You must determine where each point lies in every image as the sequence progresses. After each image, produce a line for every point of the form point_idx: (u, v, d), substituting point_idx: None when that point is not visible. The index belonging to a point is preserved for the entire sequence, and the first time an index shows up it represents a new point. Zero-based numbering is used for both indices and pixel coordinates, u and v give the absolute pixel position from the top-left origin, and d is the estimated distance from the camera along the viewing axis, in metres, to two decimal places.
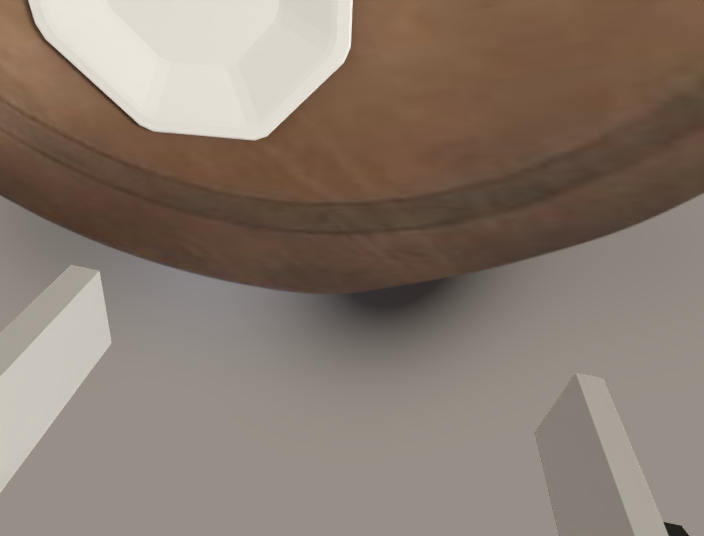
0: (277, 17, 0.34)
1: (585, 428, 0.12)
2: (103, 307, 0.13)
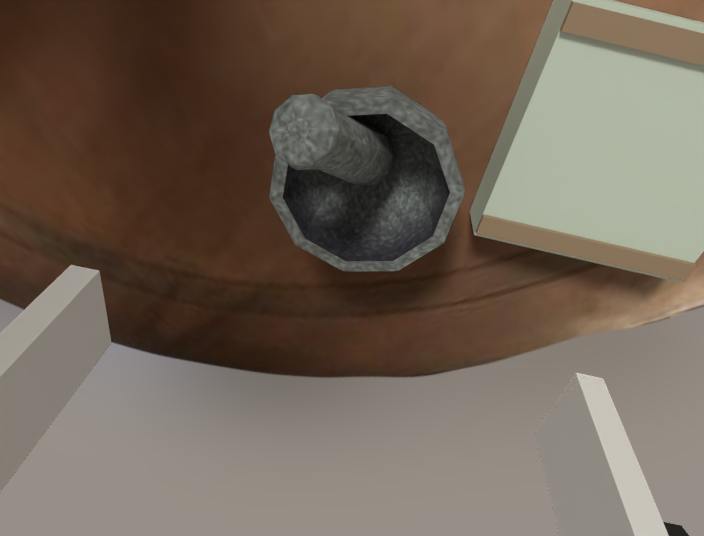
0: None
1: (585, 428, 0.12)
2: (103, 307, 0.13)
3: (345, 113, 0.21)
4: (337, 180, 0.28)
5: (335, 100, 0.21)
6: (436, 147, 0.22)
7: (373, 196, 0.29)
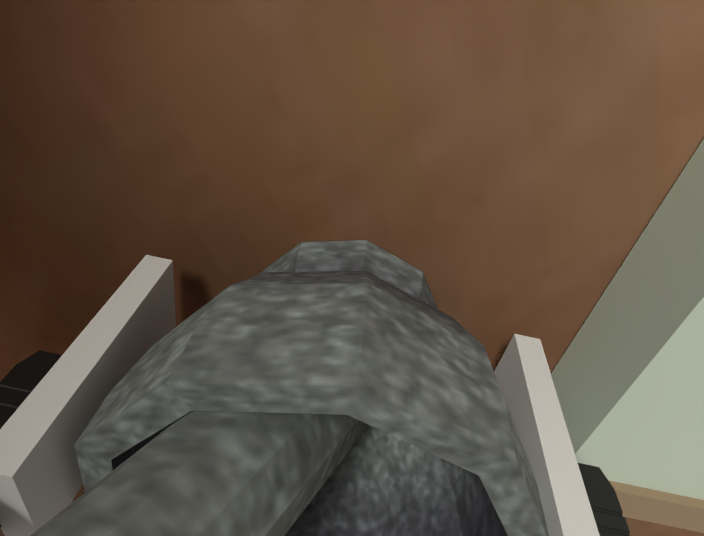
0: None
1: (518, 382, 0.12)
2: (172, 295, 0.14)
3: (232, 407, 0.08)
4: None
5: (199, 377, 0.08)
6: (485, 480, 0.08)
7: None
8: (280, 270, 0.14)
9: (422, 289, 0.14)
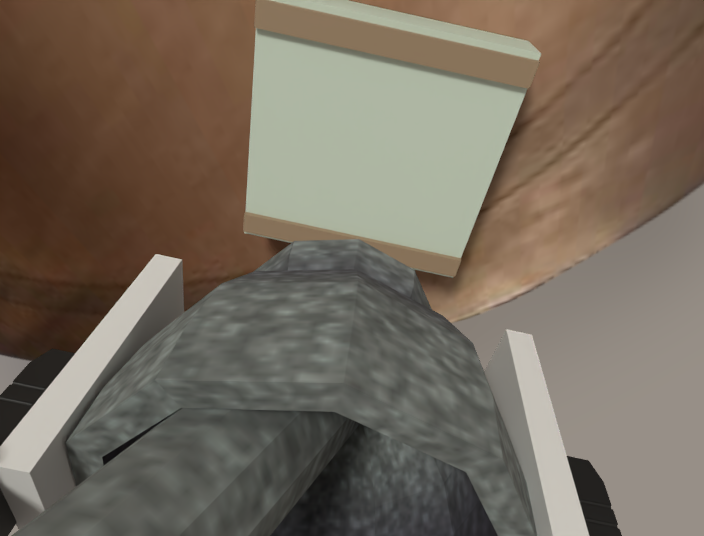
0: None
1: (509, 377, 0.13)
2: (181, 294, 0.14)
3: (221, 405, 0.08)
4: None
5: (188, 374, 0.08)
6: (472, 476, 0.08)
7: None
8: (273, 269, 0.14)
9: (414, 288, 0.14)
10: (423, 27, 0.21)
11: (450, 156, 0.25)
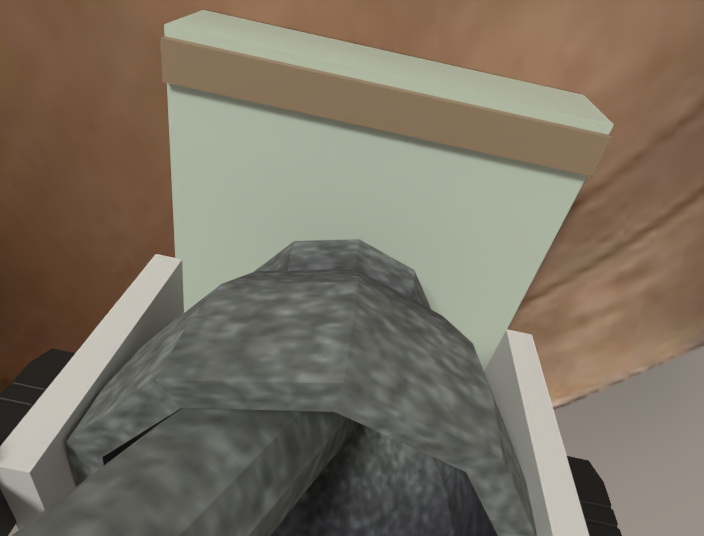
0: None
1: (509, 377, 0.13)
2: (181, 294, 0.14)
3: (221, 405, 0.08)
4: None
5: (188, 374, 0.08)
6: (472, 476, 0.08)
7: None
8: (273, 269, 0.14)
9: (414, 288, 0.14)
10: (427, 83, 0.13)
11: (467, 262, 0.17)
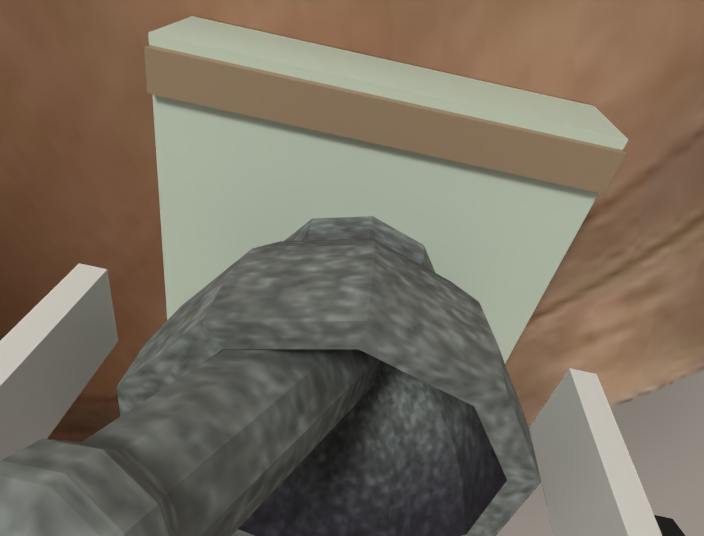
0: None
1: (578, 423, 0.12)
2: (111, 306, 0.13)
3: (258, 345, 0.09)
4: None
5: (230, 317, 0.09)
6: (479, 410, 0.09)
7: None
8: None
9: (424, 261, 0.15)
10: (429, 95, 0.13)
11: (470, 281, 0.16)
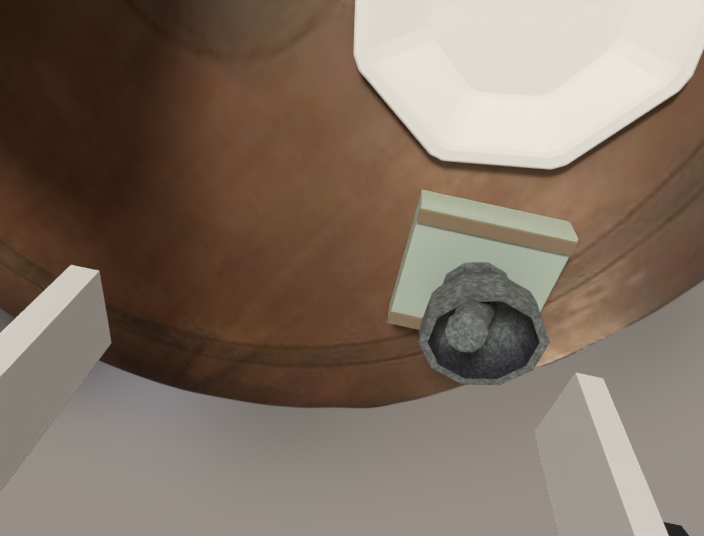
0: None
1: (585, 428, 0.12)
2: (104, 307, 0.13)
3: (476, 300, 0.35)
4: None
5: (470, 293, 0.35)
6: (532, 318, 0.35)
7: None
8: (458, 272, 0.41)
9: None
10: (512, 224, 0.38)
11: (523, 286, 0.42)
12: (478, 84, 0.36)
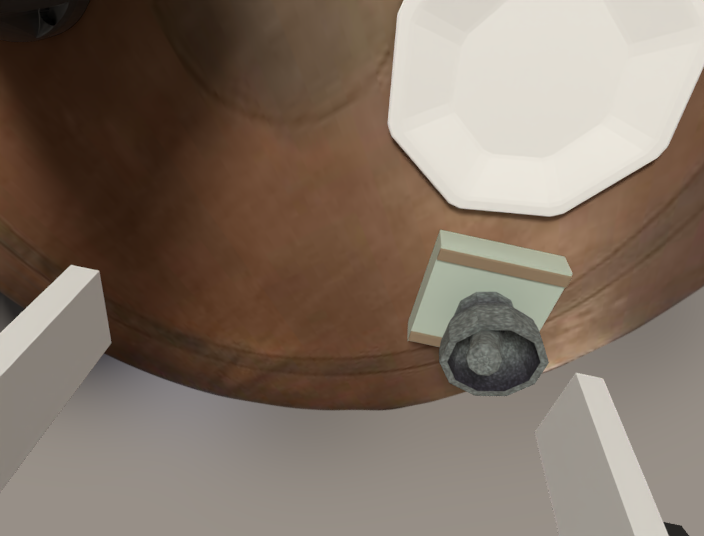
0: None
1: (585, 428, 0.12)
2: (103, 307, 0.13)
3: (489, 329, 0.42)
4: (465, 337, 0.49)
5: (484, 323, 0.42)
6: (535, 344, 0.42)
7: None
8: (471, 300, 0.48)
9: (512, 305, 0.48)
10: (517, 262, 0.46)
11: (525, 311, 0.49)
12: (491, 147, 0.42)
